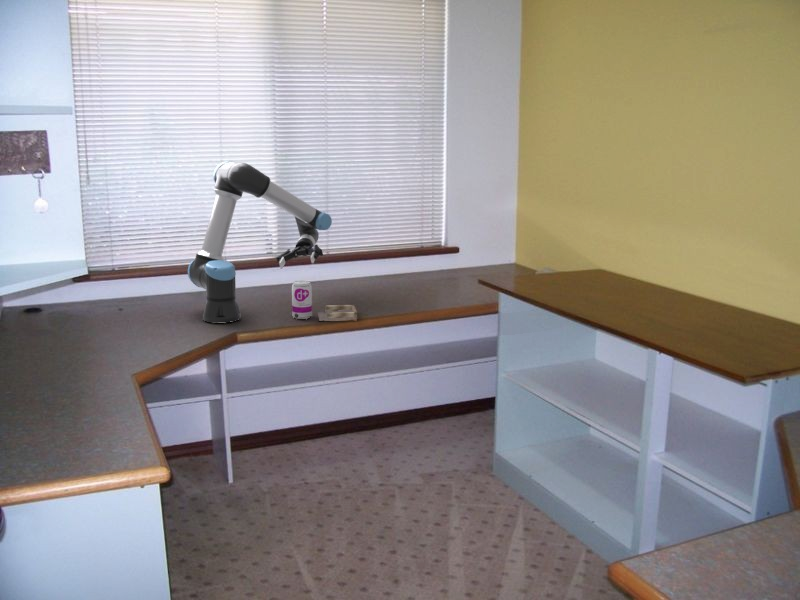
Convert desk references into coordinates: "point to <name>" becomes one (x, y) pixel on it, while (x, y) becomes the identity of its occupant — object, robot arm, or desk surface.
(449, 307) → the desk surface
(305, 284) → the supplement can
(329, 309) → the dock
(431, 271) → the desk surface
